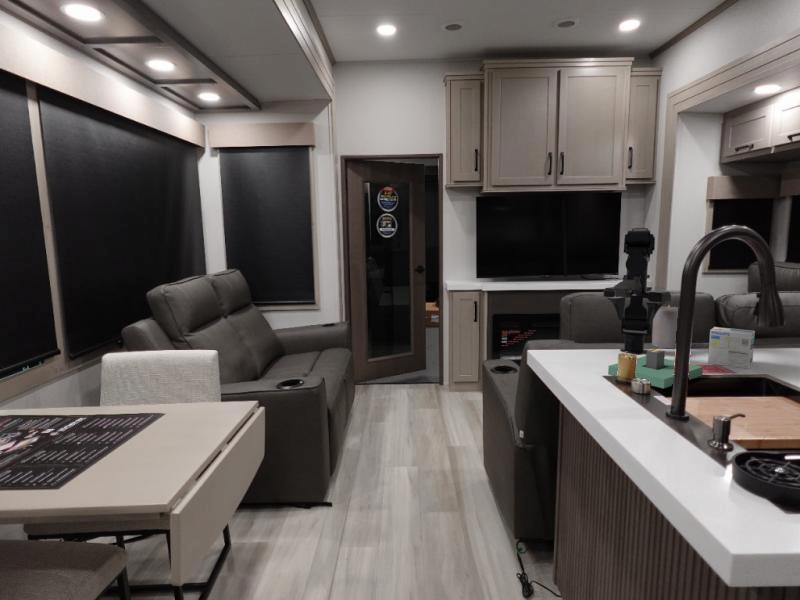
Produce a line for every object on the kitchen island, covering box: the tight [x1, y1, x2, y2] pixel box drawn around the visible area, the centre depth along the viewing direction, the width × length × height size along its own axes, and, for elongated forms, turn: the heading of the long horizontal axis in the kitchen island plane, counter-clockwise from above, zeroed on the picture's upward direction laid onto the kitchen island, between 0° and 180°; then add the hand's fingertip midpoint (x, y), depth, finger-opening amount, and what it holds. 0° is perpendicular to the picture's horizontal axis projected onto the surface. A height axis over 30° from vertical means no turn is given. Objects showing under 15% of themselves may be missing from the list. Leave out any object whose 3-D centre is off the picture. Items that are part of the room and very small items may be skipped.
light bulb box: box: [707, 326, 756, 370], centre depth 145 cm, size 11×7×11 cm, turn 47°
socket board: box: [607, 355, 704, 389], centre depth 136 cm, size 20×16×2 cm
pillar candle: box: [651, 304, 679, 350], centre depth 169 cm, size 10×10×15 cm
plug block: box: [645, 348, 666, 370], centre depth 135 cm, size 4×3×7 cm
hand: (634, 322), depth 147 cm, fingers open, 9 cm apart
